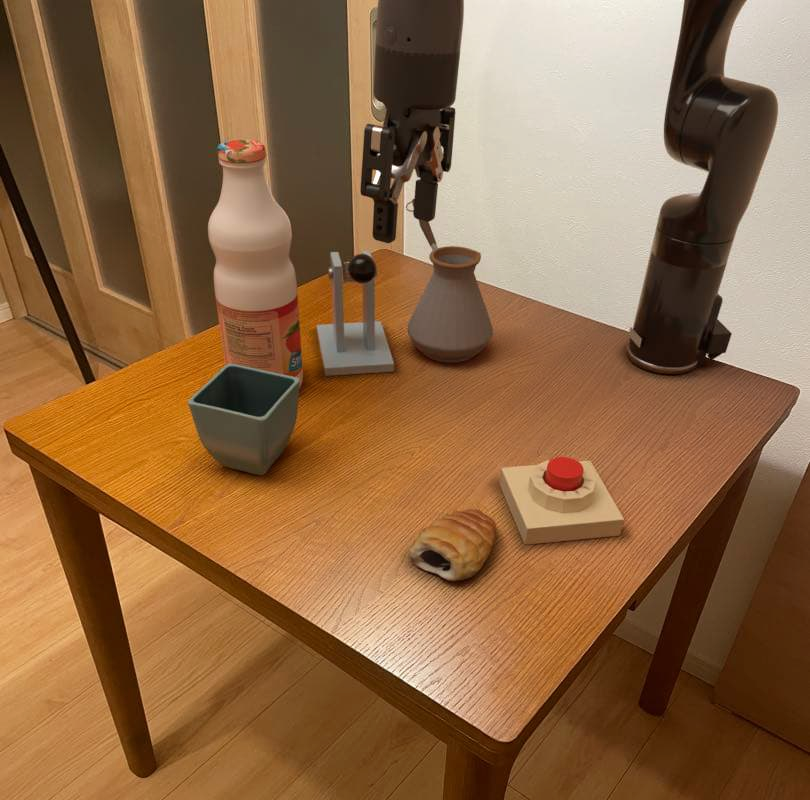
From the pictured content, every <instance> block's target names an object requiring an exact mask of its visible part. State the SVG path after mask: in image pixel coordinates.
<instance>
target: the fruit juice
mask: <svg viewBox="0 0 810 800" xmlns="http://www.w3.org/2000/svg"><path fill="white" fill-rule="evenodd" d="M217 158H218V163H219V165H220V166H221V167H222V184H221V186H222V187H221V190H220V195H219V199H218V201H217V204H216V205H215V207H214V209H213V211H212V213H211V215H210V217H209V219H208V224H207V235H208V236H207V237H208V242H209V245H210V247H211V250H212V252H213V254H214V257H215V265H214V268H213V287H214V289H213V290H214V297H215V302H216V309H217V317H218V324H219V330H220V338H221V345H222V351H223V358H224V366H225V365H227V364H237V365H242V366H246V367H251V368H255V369H260V370H264V371H269V372H274V373H278V374H283V375H288V376H293V377H296V378H299V379H300V383H299V389H300V388H301V386H302V385H303V379H304V368H303V353H302V342H301V341H302V339H301V326H300V312H299V311H300V310H299V296H298V282H297V275H296V270H295V267H294V263H293V262H292V260H291V257H290V252H291V245H292V240H293V232H292V231H293V230H292V225H291V221H290V218H289V216H288V215H287V213H286V212H285V210H284V209H283V208H282V207H281V205H280V204H278V202H277V201H276V199H275V197H274V196H273V194H272V191H271V189H270V186H269V183H268V180H267V176H266V172H265V164H266V162H267V150H266V146H265V144H264V143H263V142H261V141H258V140H254V139H248V138H247V139H246V138H241V139H239V138H238V139H230V140H226V141H222V142H221V143H219V144H218V146H217Z"/></svg>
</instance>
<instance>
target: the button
mask: <svg viewBox="0 0 810 800" xmlns="http://www.w3.org/2000/svg"><path fill="white" fill-rule="evenodd" d="M549 460H550V461H549V462H548V465H547V470H546V476H545V481H546V483H547V485H548V486H550V487H551V488H553V489H555V490H559V491H564V492H567V491H574V490H576V489H578V488H579V487H580V485H581V480H582V475H583V471H584V469H583V466H582V464H581V463H580V462H578V461H579V460H576V459H575V458H572V457H568V456H557V457H554V458H552V459H549Z"/></svg>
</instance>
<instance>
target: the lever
mask: <svg viewBox="0 0 810 800" xmlns="http://www.w3.org/2000/svg"><path fill="white" fill-rule="evenodd" d="M341 264H342V280H343V284H348V283H350V284H351V283H357V284H360V285H363V284H365V283H368V282H370V281H371V280H372V279H373V278H374V277H375V274H376V267H377V264H376V261H375V260H374V258H373V256H372V257H370V256H369V255H367V254H362V253H357V254H355V255H354V256H352V257H351V258H350V260H349V261H344V262H341ZM375 278H376V277H375Z"/></svg>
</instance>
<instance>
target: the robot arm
mask: <svg viewBox="0 0 810 800" xmlns="http://www.w3.org/2000/svg"><path fill="white" fill-rule="evenodd" d="M377 1H378V2H377V6H376V7H377V9H376V27H375V47H374V48H375V49H374V69H373V71H374V73H373V96H374V98H375V99H376V100H377V101H378V102H380V103H382V104H383V105H384V108H385V115H384V120H383V123H382V125H377V124H372V123H366V124H365V127H364V131H363V144H362V145H363V146H362V162H361V175H360V191H359V192H360V195H361V196H362V197H367V198H369V199H372V200H373V217H372V237H373V239H374V240H375V241H377V242H381V243H385V244H391V243H393V242H394V241H396V238H397V228H398V227H397V226H398V211H399V210H398V209H399V202H398V200H399V197H400V195H401V193H402V189H403V186H404V185H405V184H406V183H407V182H409V181H410V180H411V178H412V176H413V173H414V172H415V174H416V177H417V178H419V179H417V180H415V186H414V198H413V199H414V207H413V212H412V215H413V217H414V219H416V220H418V221H419V220H423V221H427V222H429V223H430V222H431V221H433V220H434V219H435V217H436V209H437V201H438V191H439V190H438V189H439V183H441V182H442V181H443V177H444V173H449V172H450V171H451V169H452V161H453V149H454V148H453V146H454V135H455V121H456V108H455V107H452V106H453V105H454V104H455V102H456V99H457V98H456V97H457V89H458V88H457V87H458V78H459V67H460V58H461V47H462V39H463V28H464V18H465V17H464V16H465V14H464V13H465V0H377ZM747 1H748V0H683V7H682V15H681V23H680V28H679V35H678V40H677V46H676V52H675V58H674V63H673V69H672V73H671V78H670V83H669V84H670V85H669V89H668V93H667V99H666V104H665V105H666V106H665V112H664V119H663V120H664V121H663V143H664V147H665V151H666V153H667V155H668V156H669V157H670V158H671V159H673V160H674V161H676V162H677V163H680V164H683V165H686V166H688V167H691V168H694V169H698V170H700V171H703V172H706V173H707V176H706V178H705V182H704V185H703V187H702V190H701V192H690V193H682V194H678V195H674V196H671V197H669V198H667V199H666V200H665V201H664V202H663V203H662V205H661V207H660V210H659V212H658V217H657V222H656V226H655V230H654V235H653V240H652V244H651V249H650V253H649V257H648V261H647V266H646V270H645V275H644V279H643V283H642V287H641V291H640V296H639V300H638V305H637V309H636V313H635V317H634V321H633V326H632V327H631V326H630V328H629V332H628V336H627V337H629V342H628V345H627V348H626V356H627V358H628V359H629V360H630V362H632V363H633V364H634V365H635V366H637V367H639V368H641V369H643V370H646V371H648V372H653V373H657V374H663V375H681V374H686V373H689V372H691V371H693V370H695V368H698V367H703V366H704V363H705V361H706V357H707V358H708V359H710V361H713V360H714V359H716V358H718V357H719V356H721V355H722V354H726V353H727V350H728V347H729V343H730V341H731V337H732V335H733V332H731V331H730V330H729V329H728V327H726V326H725V325H724V324H723V323H722V322H721V321H720V320H719V319H718V318H719V314H720V311H721V308H722V305H723V300H724V299H723V297H722V296H721V295H720V294H719V291H720V288H721V284H722V282H723V281H722V280H723V278H724V274H725V271H726V268H727V264H728V261H729V257H730V254H731V252H732V251H731V250H732V248H733V245H734V241H735V237H736V234H737V231H738V228H739V225H740V223H741V221H742V219H743V217H744V215H745V214H746V211H747V209H748V207H749V205H750V203H751V200H752V197H753V194H754V192H755V188H756V185H757V183H758V180H759V176H760V174H761V171H762V168H763V166H764V163H765V160H766V158H767V155H768V152H769V150H770V147H771V144H772V140H773V137H774V135H775V130H776V127H777V121H778V115H779V103H778V97H777V95H776V93H775V92H774V91H773V90H772V89H770V88H768V87H766V86H763V85H760V84H756V83H752V82H748V81H744V80H739V79H735V78H730V77H727V76H725V62H726V56H727V51H728V45H729V42H730V37H731V34H732V30H733V27H734V24H735V22H736V20H737V18H738V15H739V14H740V12H741V11H742V9H743V7H744V5H745V4H746V3H747ZM374 171H375V172H376V173H375V175H374V178H373V172H374ZM392 179H393V181H392ZM391 183H392V184H391Z"/></svg>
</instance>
